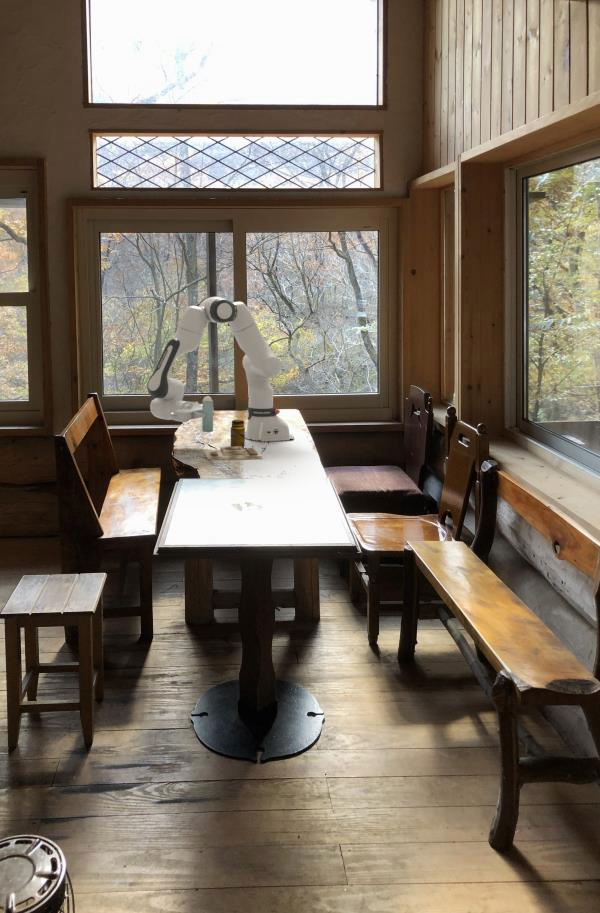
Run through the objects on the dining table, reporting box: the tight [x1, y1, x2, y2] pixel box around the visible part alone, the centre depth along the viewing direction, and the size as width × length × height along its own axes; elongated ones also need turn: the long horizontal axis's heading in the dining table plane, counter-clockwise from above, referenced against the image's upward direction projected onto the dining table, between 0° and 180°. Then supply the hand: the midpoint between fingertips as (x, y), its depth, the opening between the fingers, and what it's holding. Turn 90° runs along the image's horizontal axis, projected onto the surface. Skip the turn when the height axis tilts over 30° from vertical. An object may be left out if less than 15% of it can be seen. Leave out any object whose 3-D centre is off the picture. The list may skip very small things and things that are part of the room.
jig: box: [203, 446, 263, 460], centre depth 376 cm, size 22×13×3 cm, turn 104°
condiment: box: [227, 419, 246, 450], centre depth 392 cm, size 7×8×12 cm
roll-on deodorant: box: [201, 395, 214, 433], centre depth 383 cm, size 4×4×15 cm
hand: (209, 414), depth 383 cm, fingers closed on roll-on deodorant, 4 cm apart
